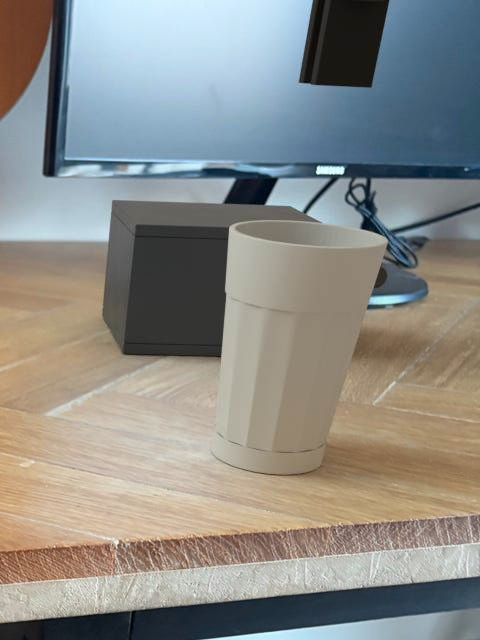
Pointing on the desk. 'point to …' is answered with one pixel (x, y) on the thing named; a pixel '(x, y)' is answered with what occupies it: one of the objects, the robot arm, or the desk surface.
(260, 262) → the cup
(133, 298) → the cabinet
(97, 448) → the desk surface
